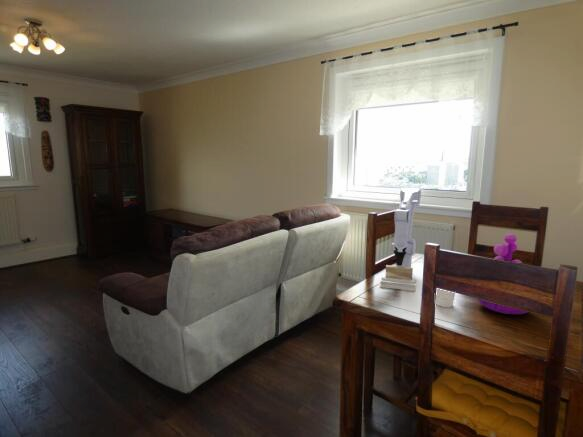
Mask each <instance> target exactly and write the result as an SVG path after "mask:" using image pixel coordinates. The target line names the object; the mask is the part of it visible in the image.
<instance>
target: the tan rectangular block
mask: <svg viewBox="0 0 583 437" xmlns="http://www.w3.org/2000/svg"><path fill="white" fill-rule="evenodd" d="M413 269H414V268H413V267H411V268H410V267H400V266H396V265H390V264H389V265H388V264H386V265H385V278H394V279H403V280H412V281H413Z"/></svg>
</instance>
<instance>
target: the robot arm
mask: <svg viewBox="0 0 583 437" xmlns="http://www.w3.org/2000/svg"><path fill="white" fill-rule="evenodd" d="M399 193H400V194H399V198H400V203H399V206H398V207H397V210H395V211H394V215H393V217H394V218H393V219H394V240H393V241H394V242H391V246H393V253H394V256H395V257H394V258H395V261H396V262H395V263H396V265H395V266H400V267H410V268H412V262H413V261H412V260H413V257H414V256H415V254H416V244H417V242H416V240H415V239H414V238H412V232H413V231H412V229H413V225H414V224H413V223H414V222H413V221H414V216H415V215H414V214H415V210H416V208H417V207H419V206H420V203H421V199H422V198H421V197H422V190H421V188H408V187H407V188H405V187H402V188H401V189H400V192H399Z"/></svg>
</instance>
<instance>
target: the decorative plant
mask: <svg viewBox="0 0 583 437" xmlns="http://www.w3.org/2000/svg"><path fill="white" fill-rule="evenodd" d="M503 238H504V242H505V243H507V244H505V243H498V244H496V245H494V247H493V252H494V254H495V255H497V256H495V257H494V258H493V260H494V259H499V260H504V261H511V262H516V263H522V264H523V262H522V261H521V260H519V259H513V260H512V256H513V253H514V252H515V251H517V250H518V244H516V243H517V240H518V239H517V236H516V235H515V234H514V233H507V234H506V235H505V236H504V237H503ZM477 301H478V302H479V303H480V305H482V306H483V307H485V308H487V309H489V310H491V311H493V312H497V313H501V314H505V315H523V314H526V313H528V312H527V311H523V310H519V309H515V308H511V307H507V306H502V305H498V304H494V303H490V302H486V301H482V300H479V299H477Z"/></svg>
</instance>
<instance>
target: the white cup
mask: <svg viewBox="0 0 583 437" xmlns="http://www.w3.org/2000/svg"><path fill="white" fill-rule="evenodd" d="M455 296H456V292H455V293H452V292H448V291H444V290H440V289H437V295H436V304H435V305H436V306H438V307H442V308H452V307H453V306H454V300H455Z"/></svg>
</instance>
